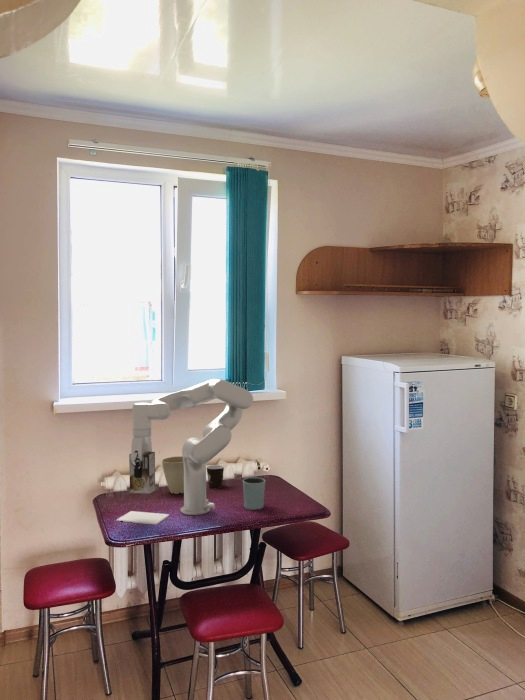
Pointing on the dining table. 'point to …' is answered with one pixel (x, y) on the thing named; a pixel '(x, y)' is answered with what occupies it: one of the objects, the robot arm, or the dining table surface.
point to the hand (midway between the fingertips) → (142, 475)
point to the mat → (143, 517)
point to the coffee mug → (215, 475)
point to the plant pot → (174, 473)
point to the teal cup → (253, 493)
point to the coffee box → (143, 475)
